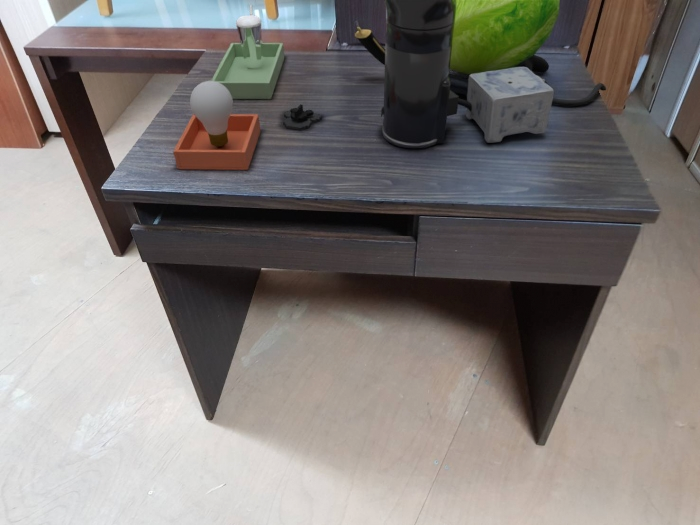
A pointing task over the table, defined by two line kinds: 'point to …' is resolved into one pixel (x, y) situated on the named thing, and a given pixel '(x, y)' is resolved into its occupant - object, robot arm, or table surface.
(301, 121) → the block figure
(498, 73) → the incense holder
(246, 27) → the milkshake cup
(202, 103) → the light bulb
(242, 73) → the green tray
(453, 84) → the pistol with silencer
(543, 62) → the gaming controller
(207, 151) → the terracotta tray
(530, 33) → the lettuce
